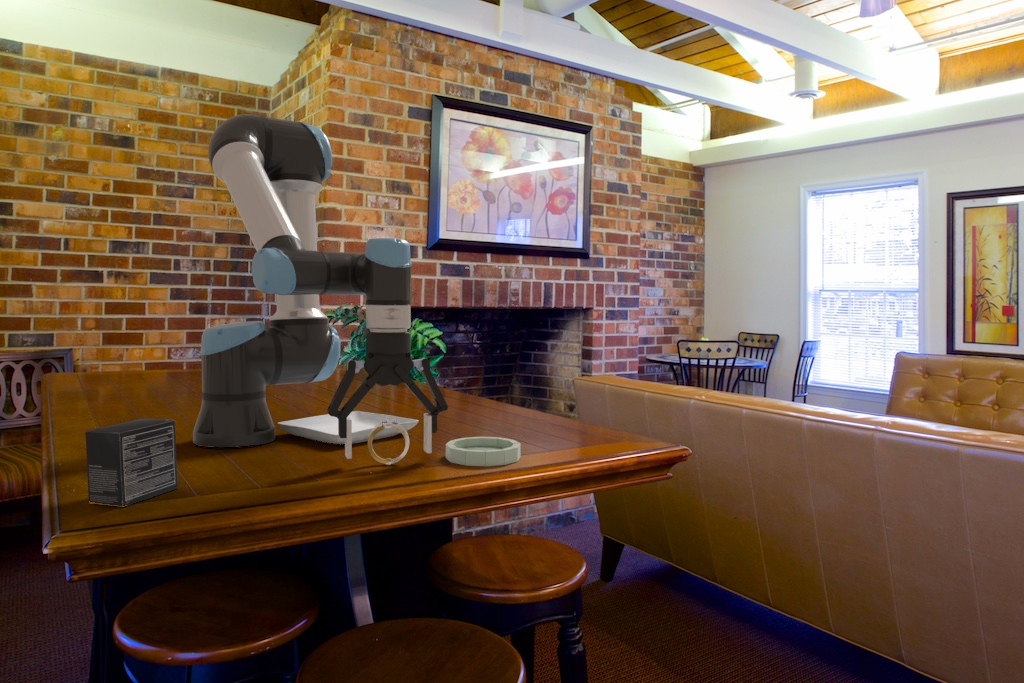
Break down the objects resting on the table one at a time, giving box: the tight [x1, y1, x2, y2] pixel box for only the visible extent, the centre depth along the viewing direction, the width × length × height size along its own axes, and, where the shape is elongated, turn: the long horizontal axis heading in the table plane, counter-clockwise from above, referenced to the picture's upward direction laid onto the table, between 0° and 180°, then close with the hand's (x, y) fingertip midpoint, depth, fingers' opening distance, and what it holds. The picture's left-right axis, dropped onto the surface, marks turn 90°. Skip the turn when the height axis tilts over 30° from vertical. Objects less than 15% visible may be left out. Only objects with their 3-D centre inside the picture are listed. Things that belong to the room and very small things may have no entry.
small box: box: [84, 418, 179, 506], centre depth 103 cm, size 11×6×10 cm, turn 163°
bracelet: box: [367, 418, 410, 466], centre depth 124 cm, size 7×3×8 cm, turn 93°
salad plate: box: [276, 410, 419, 446], centre depth 150 cm, size 21×21×3 cm
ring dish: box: [445, 436, 522, 467], centre depth 130 cm, size 13×13×2 cm
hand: (388, 454), depth 124 cm, fingers open, 13 cm apart
